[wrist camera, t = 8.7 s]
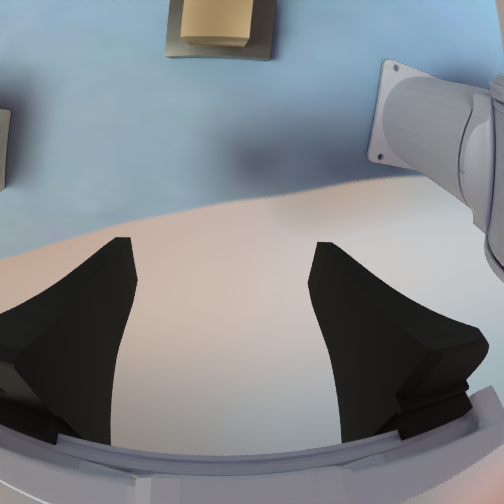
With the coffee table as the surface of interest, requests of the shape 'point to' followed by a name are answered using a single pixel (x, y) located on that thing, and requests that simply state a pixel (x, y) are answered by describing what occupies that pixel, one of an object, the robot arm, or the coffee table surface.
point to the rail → (216, 22)
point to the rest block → (253, 50)
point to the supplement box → (3, 143)
